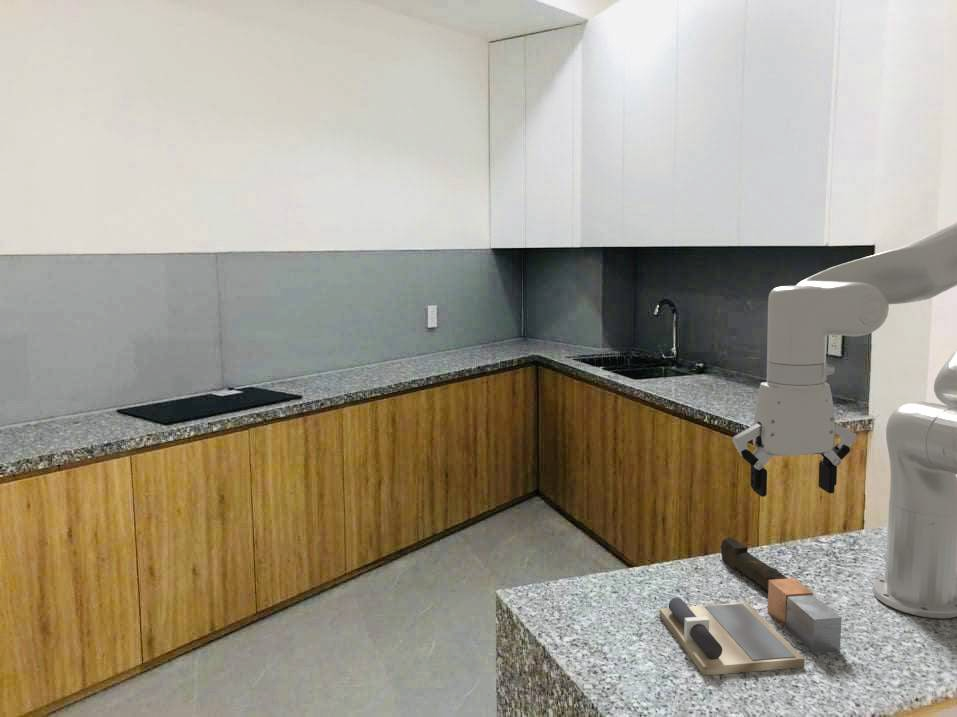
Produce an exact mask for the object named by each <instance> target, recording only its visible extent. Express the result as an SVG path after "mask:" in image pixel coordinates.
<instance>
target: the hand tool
mask: <svg viewBox="0 0 957 717" xmlns="http://www.w3.org/2000/svg"><path fill="white" fill-rule="evenodd" d="M748 549H749V548H748V547H747V546H746V545H744V544H742V543H741V542H739V541H738V540H736V539H733V538H731V537H729V536H728V537H726V538H724V539H723V540H722V541H721V544H720V553H721V558H722V559H723V561H724V563H726V564H727V565H728V566H729V567H730V568H731V569H732V570H733V571H740V572H742V573H743V574H744V575H746V576H747V577H748V578H749V579H752V581H754V582H755V583H757V584H758V585H760V586H761V587H762V588H764V589H765V590H767V591H768V585H769V580H774V579H788V578H789V577H787V576H785V575H784V574H783V573H781V572H780V571H778V569H777V568H775V567H771V566H770V565H768V564H767V563H765V562H763V561H762V560H760V559H758V558H757V557H755V555H753V554H751V553H750V552H748Z"/></svg>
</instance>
